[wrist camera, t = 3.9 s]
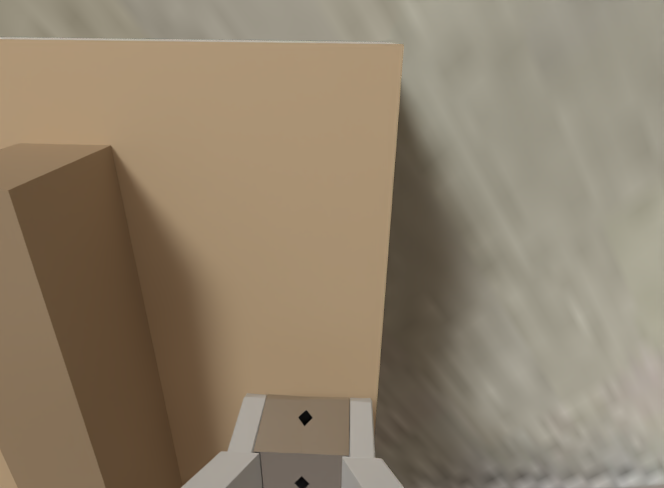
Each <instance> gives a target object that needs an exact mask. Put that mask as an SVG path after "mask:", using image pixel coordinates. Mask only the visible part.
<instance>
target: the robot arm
mask: <svg viewBox="0 0 664 488" xmlns="http://www.w3.org/2000/svg"><path fill="white" fill-rule="evenodd" d="M181 488H404V487H403V485H402V484H401V483H400V481H399V480H398V479H397V477H396V476H395V475H394V473H393V472H392V471H391V470H390V468H389V467H388V466H387V464H386V463H385V462H384V460H383V459H382V458H375V442H374V424H373V407H372V400H371V398H350V399H349V398H347V397H312V396H309V397H305V396H289V395H273V394H268V395H266V394H251V393H247V394H246V395H245V397H244V398H243V402H242V405H241V408H240V411H239V415H238V418H237V421H236V425H235V428H234V431H233V434H232V438H231V441H230V444H229V447H228V451H221V452H220V453H218V454H217V455H216V456H215V457H214V458H213V459H212V460H211V461H210V462H209V463H207V464H206V465H205V466H204V467H203V468H202V469H201V470H200V471H199V472H198V473H196V474H195V475H194V476H193V477H192V478H191V479H190V480H189V481H188V482H187V483H185V484H184V485H183V486H182V487H181Z"/></svg>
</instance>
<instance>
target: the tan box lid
mask: <svg viewBox="0 0 664 488" xmlns="http://www.w3.org/2000/svg"><path fill="white" fill-rule="evenodd" d="M403 49H404V45H403V44H351V43H270V42H190V41H109V40H28V39H0V488H181V487H182V486H183V485H184V484H185V483H187V482H188V481H189V480H190V479H191V478H192V477H193V476H194V475H195V474H196V473H198V472H199V471H200V470H201V469H202V468H203V467H204V466H205V465H206V464H207V463H209V462H210V461H211V460H212V459H213V458H214V457H215V456H216V455H217V454H218V453H220V452H221V451H228V447H229V444H230V441H231V438H232V434H233V431H234V428H235V425H236V421H237V418H238V415H239V411H240V408H241V405H242V402H243V398H244V397H245V395H246V394H247V393H251V394H266V395H268V394H273V395H289V396H305V397H309V396H312V397H347V398H349V399H350V398H371V400H372V407H373V424H374V435H375V422H376V408H377V395H378V382H379V368H380V355H381V342H382V329H383V315H384V302H385V289H386V275H387V262H388V249H389V235H390V222H391V209H392V195H393V182H394V169H395V155H396V142H397V129H398V116H399V102H400V89H401V76H402V62H403Z"/></svg>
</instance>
